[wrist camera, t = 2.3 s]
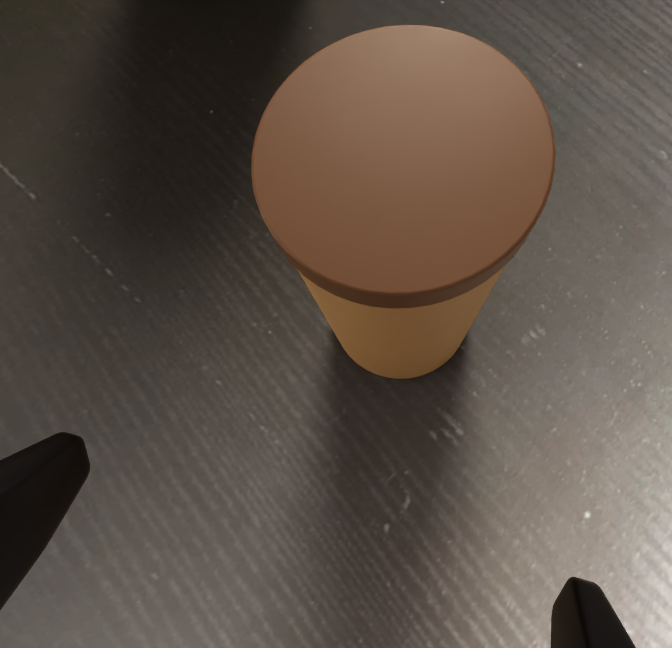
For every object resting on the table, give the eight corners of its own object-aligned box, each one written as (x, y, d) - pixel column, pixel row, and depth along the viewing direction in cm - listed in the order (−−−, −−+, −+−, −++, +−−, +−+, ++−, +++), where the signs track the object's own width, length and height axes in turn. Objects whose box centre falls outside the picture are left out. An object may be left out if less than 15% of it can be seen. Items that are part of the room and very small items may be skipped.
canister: (500, 316, 22) (626, 150, 10) (395, 410, 22) (386, 362, 10) (403, 221, 24) (406, -26, 11) (303, 308, 24) (193, 151, 11)
